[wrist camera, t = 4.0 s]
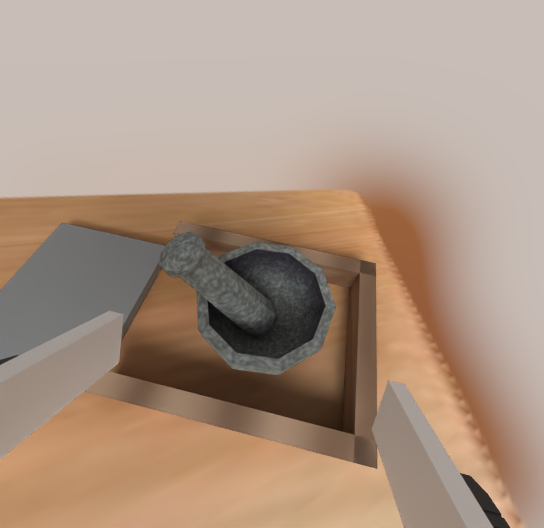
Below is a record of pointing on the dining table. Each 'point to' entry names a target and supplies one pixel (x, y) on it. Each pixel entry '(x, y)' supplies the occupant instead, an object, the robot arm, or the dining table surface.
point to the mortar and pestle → (254, 301)
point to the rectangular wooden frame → (340, 444)
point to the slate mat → (74, 285)
